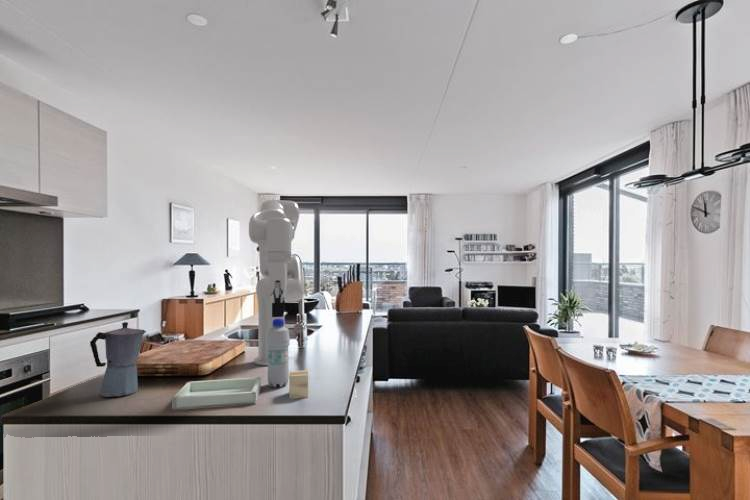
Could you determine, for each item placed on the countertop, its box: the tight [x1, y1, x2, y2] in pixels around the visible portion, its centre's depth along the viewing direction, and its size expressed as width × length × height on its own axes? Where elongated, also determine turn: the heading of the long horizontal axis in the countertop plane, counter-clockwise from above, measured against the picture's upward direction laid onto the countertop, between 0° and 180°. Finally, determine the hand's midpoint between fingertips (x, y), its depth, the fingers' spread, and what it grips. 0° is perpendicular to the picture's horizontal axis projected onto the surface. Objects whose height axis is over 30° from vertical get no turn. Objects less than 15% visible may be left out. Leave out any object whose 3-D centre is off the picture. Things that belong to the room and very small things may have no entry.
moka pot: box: [89, 321, 147, 398], centre depth 109 cm, size 10×15×20 cm, turn 161°
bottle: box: [267, 318, 291, 388], centre depth 115 cm, size 7×7×20 cm
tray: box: [171, 376, 262, 411], centre depth 104 cm, size 14×20×3 cm
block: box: [288, 369, 309, 399], centre depth 107 cm, size 5×5×6 cm
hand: (278, 315), depth 116 cm, fingers open, 9 cm apart
